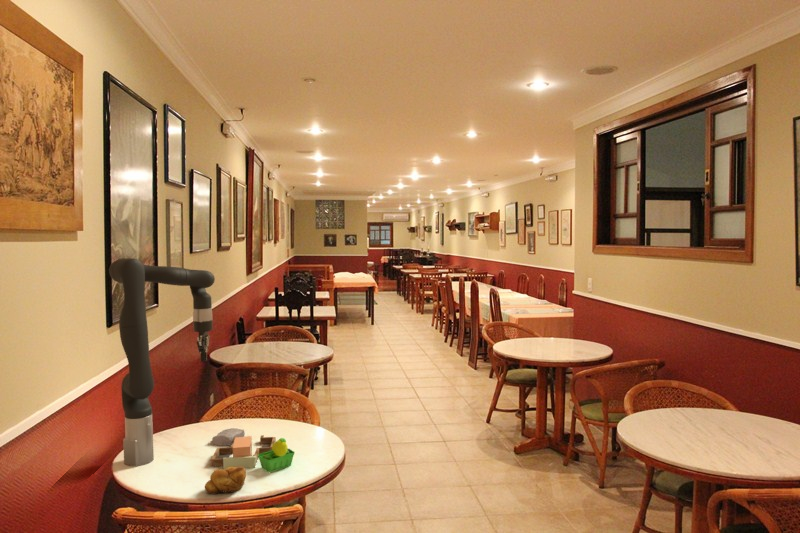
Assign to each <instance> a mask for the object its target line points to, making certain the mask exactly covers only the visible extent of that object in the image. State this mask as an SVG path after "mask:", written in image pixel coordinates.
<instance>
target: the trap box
mask: <svg viewBox="0 0 800 533" xmlns="http://www.w3.org/2000/svg"><path fill="white" fill-rule="evenodd" d="M259 439H260V440H259V442H260V445H261V446H260V447H256V448H255V452H254V455H253V456H255V466H257V464H258V461H257V460H259V458H258V455H259V454H262V453H265V452H268V451H272V445H273V444H274V443H275V442H277V441H276V439H277V438H276V436H274V437H273V436H266V437H265V436H264V435H263V434H261V435H260V438H259ZM234 440H235V439H234ZM233 445H234V441H233V443H232V445H231V446H228V447H227V446H225V447H217V448H216V450H215V452H214V453H213V455H212V457H211V459H210V465H211V467H214V468H215V467H223V458H228V457H230V456H231V455H233ZM256 463H257V464H256Z"/></svg>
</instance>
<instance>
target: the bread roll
mask: <svg viewBox="0 0 800 533" xmlns="http://www.w3.org/2000/svg"><path fill="white" fill-rule="evenodd" d="M246 473H247V471H246V469H244V467H228V468H226V469H225V470H223V469H219V468H218V469H215V470H213V472H212V473H211V474H210V478H209V480H208V481H207V482H206V483H205V485H204V491H205V492H206V493H209V494H219V493H225V494H226V493H228V494H229V493H233V492H237V491H240V490H241V489H242V488H243V487H244V485H245V480H246V477H247V474H246Z"/></svg>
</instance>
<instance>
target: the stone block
mask: <svg viewBox="0 0 800 533" xmlns="http://www.w3.org/2000/svg"><path fill="white" fill-rule="evenodd" d="M245 435H246V434H245V429H243V428H242V429H241V428H237V427H236V428H235V427H234V428H233V427H231V428H227V429H223V430H222V431H220V432H218V433H217V434H216V435H214V436H213V437H212V444H213V445H215V446H229V447H231V446H232V443H233V441H234V439H235V437H245Z"/></svg>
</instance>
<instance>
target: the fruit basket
mask: <svg viewBox="0 0 800 533" xmlns="http://www.w3.org/2000/svg"><path fill="white" fill-rule="evenodd" d="M294 456H295V451H294V450H292V449H290V448H288V444H287V440H286V438H283V437H281V438H279V439H277V441H276V442H275V443H274V444H273V445H272V451H268V452H265V453H262V454H259V455H258V460H259V464H260V466H261V469H262V470H264V471H266V472H268V473H269V472H270V473H273V472H277V471H278V470H283V469H285V468H287V467H291V466H292V464H293V457H294Z"/></svg>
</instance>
